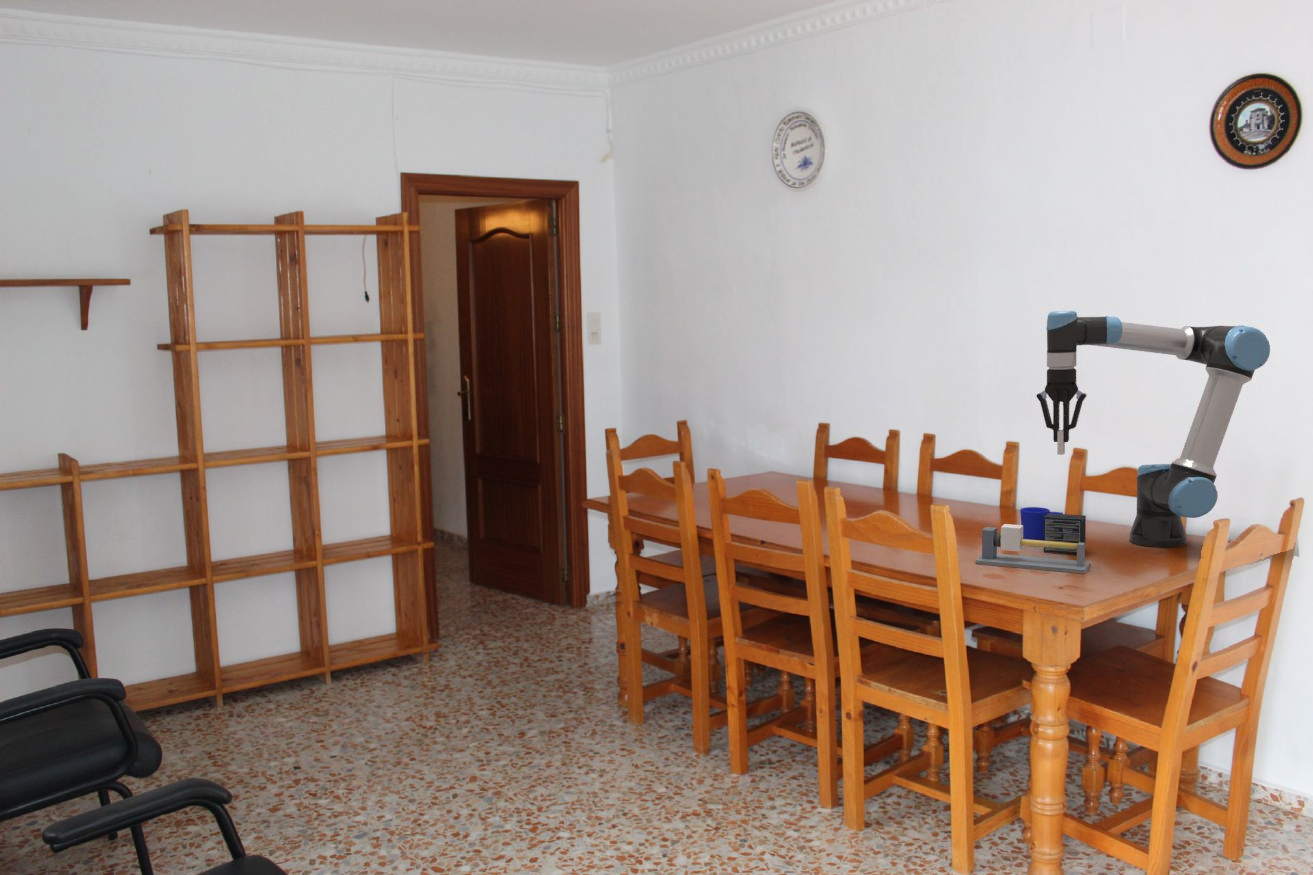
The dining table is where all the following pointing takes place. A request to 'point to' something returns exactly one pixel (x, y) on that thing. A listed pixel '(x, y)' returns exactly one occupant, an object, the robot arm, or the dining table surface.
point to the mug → (1034, 522)
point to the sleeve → (1011, 537)
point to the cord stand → (992, 558)
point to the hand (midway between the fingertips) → (1061, 453)
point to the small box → (1064, 531)
